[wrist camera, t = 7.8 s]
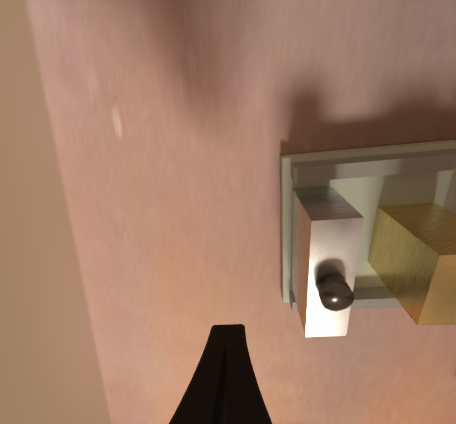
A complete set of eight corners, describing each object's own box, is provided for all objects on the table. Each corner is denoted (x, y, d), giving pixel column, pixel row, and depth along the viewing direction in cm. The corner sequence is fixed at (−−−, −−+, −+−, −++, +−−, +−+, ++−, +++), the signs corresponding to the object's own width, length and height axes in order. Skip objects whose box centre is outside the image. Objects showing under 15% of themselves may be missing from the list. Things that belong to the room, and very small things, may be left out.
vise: (517, 133, 14) (652, 150, 10) (457, 288, 19) (526, 348, 15) (280, 155, 16) (298, 179, 11) (281, 295, 21) (293, 353, 16)
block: (433, 202, 16) (524, 250, 11) (417, 259, 17) (488, 323, 12) (377, 206, 16) (439, 255, 11) (367, 262, 18) (417, 325, 13)
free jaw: (331, 186, 15) (375, 227, 10) (323, 284, 18) (353, 351, 14) (292, 189, 15) (317, 231, 10) (291, 286, 19) (309, 352, 14)
